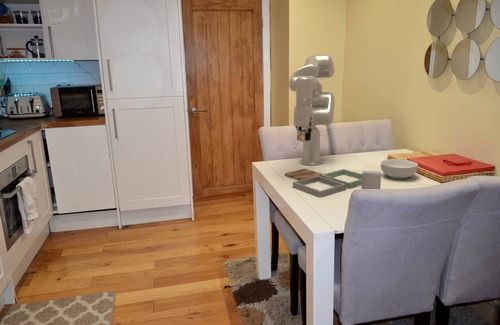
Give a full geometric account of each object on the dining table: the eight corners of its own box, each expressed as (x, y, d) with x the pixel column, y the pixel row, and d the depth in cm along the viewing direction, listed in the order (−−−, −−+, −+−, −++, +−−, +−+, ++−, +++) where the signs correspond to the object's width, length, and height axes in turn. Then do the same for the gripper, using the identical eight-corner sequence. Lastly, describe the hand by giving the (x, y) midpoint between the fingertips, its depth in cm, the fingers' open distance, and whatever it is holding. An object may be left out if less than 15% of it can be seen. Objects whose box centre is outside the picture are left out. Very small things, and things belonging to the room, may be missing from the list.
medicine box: (380, 189, 166) (381, 171, 163) (380, 193, 162) (381, 173, 159) (361, 188, 168) (362, 170, 166) (361, 191, 164) (361, 172, 162)
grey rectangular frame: (292, 187, 174) (292, 182, 173) (317, 180, 182) (317, 175, 181) (320, 197, 159) (320, 191, 158) (346, 189, 168) (346, 184, 167)
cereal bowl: (399, 184, 172) (400, 169, 171) (372, 175, 187) (373, 161, 185) (424, 177, 180) (425, 163, 178) (396, 170, 194) (397, 157, 192)
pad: (284, 175, 192) (284, 173, 192) (305, 170, 200) (305, 168, 199) (303, 181, 181) (303, 179, 180) (323, 176, 188) (323, 174, 188)
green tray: (320, 179, 183) (320, 174, 183) (343, 173, 192) (343, 168, 191) (349, 188, 169) (349, 183, 168) (372, 181, 177) (372, 176, 177)
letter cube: (296, 140, 186) (296, 130, 185) (304, 139, 189) (304, 129, 188) (303, 141, 182) (303, 131, 181) (311, 140, 185) (311, 130, 184)
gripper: (286, 102, 186) (287, 138, 190) (310, 104, 172) (310, 143, 177) (298, 101, 190) (298, 136, 194) (322, 103, 176) (321, 141, 181)
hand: (304, 139), depth 185 cm, fingers closed on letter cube, 5 cm apart
